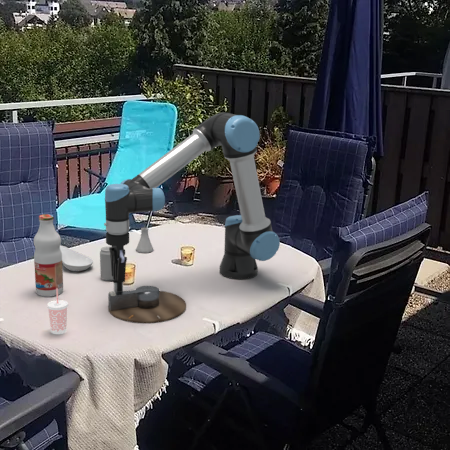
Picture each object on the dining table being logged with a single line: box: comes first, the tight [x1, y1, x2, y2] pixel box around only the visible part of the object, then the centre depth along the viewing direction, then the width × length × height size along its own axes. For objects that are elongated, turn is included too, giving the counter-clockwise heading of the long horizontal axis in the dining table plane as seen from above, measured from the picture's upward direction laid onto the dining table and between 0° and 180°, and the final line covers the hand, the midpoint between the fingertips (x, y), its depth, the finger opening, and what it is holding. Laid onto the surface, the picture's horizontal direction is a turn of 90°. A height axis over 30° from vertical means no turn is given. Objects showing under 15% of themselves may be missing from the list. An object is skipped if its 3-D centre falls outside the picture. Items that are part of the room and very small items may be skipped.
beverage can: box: [99, 246, 114, 282], centre depth 236 cm, size 6×6×12 cm
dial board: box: [107, 290, 187, 324], centre depth 213 cm, size 26×26×1 cm
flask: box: [135, 227, 154, 254], centre depth 271 cm, size 7×7×10 cm
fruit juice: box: [33, 213, 64, 297], centre depth 220 cm, size 9×9×28 cm
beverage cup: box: [46, 288, 69, 335], centre depth 192 cm, size 6×6×14 cm
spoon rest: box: [60, 244, 94, 272], centre depth 250 cm, size 24×12×7 cm, turn 55°
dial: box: [107, 285, 160, 310], centre depth 210 cm, size 17×8×6 cm, turn 115°
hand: (118, 299), depth 211 cm, fingers closed
